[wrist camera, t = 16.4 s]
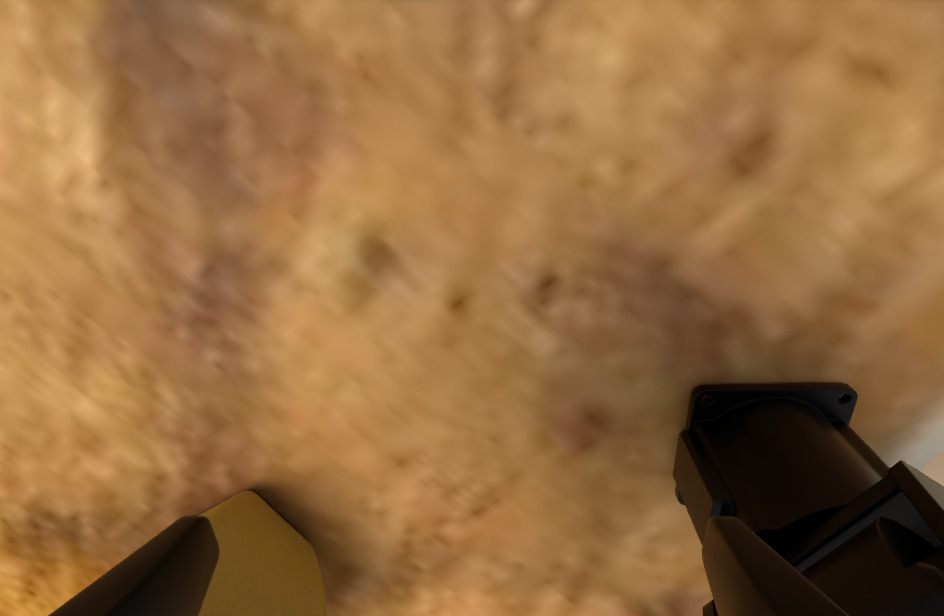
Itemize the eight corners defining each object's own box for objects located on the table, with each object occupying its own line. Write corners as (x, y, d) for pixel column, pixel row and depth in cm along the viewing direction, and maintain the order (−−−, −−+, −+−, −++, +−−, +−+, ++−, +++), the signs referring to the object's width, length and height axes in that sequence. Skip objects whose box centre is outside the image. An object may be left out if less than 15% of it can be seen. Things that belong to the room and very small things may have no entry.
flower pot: (134, 511, 27) (-28, 706, 18) (248, 443, 24) (119, 633, 16) (251, 604, 29) (156, 808, 21) (364, 552, 27) (305, 760, 19)
